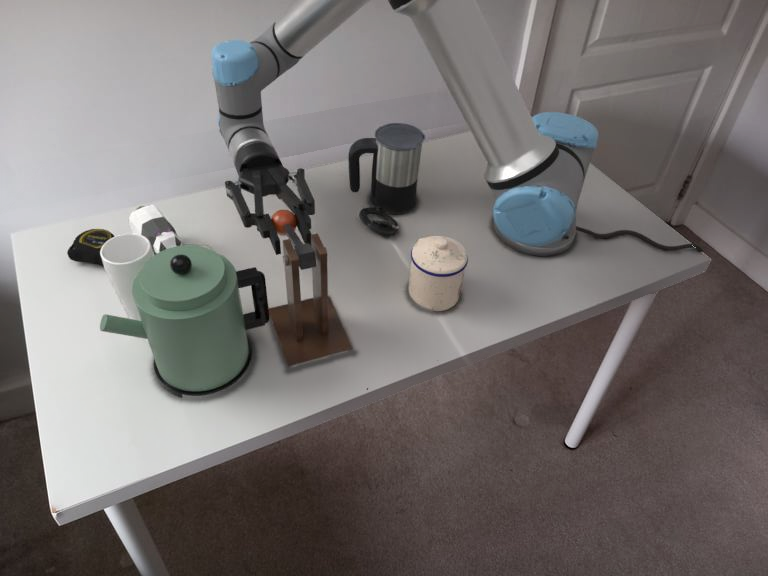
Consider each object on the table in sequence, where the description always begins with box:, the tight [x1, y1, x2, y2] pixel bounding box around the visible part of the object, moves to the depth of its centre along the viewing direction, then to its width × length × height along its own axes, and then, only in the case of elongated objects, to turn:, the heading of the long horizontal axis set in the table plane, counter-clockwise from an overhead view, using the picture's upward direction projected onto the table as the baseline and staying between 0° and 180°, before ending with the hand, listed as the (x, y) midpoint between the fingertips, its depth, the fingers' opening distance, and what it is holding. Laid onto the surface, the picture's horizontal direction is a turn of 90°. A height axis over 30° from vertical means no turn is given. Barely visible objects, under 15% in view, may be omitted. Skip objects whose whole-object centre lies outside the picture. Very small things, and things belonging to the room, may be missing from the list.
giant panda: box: [128, 204, 183, 255], centre depth 99 cm, size 15×6×10 cm, turn 38°
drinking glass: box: [100, 232, 154, 321], centre depth 88 cm, size 7×7×15 cm
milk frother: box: [347, 122, 427, 237], centre depth 111 cm, size 14×16×15 cm
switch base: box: [269, 232, 353, 367], centre depth 87 cm, size 12×10×18 cm
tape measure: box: [66, 228, 115, 267], centre depth 101 cm, size 7×7×4 cm
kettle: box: [99, 244, 271, 399], centre depth 81 cm, size 22×14×20 cm, turn 112°
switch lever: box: [270, 209, 316, 271], centre depth 87 cm, size 15×4×4 cm, turn 22°
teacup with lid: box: [407, 235, 469, 312], centre depth 97 cm, size 12×9×12 cm
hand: (293, 243), depth 88 cm, fingers closed on switch lever, 4 cm apart
